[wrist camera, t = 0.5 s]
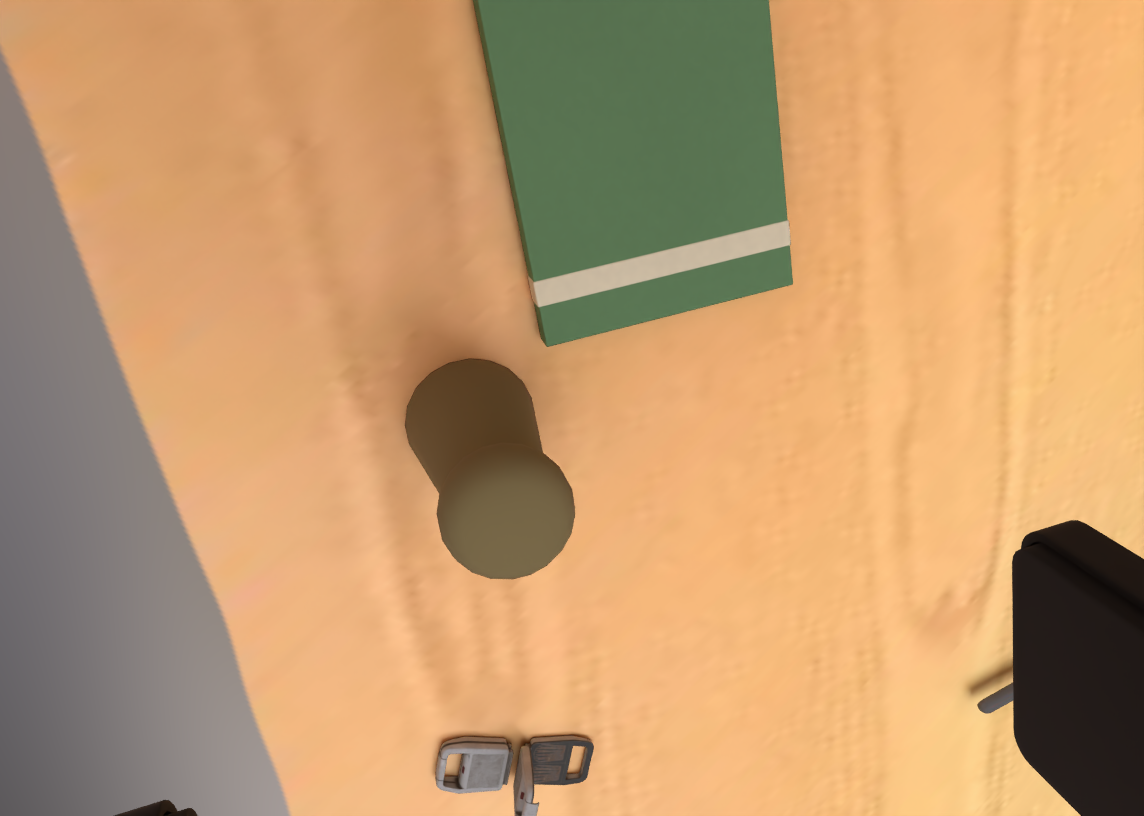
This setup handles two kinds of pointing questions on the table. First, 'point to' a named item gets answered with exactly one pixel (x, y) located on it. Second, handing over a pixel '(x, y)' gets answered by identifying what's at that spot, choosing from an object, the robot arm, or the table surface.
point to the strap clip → (492, 761)
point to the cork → (489, 470)
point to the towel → (639, 155)
